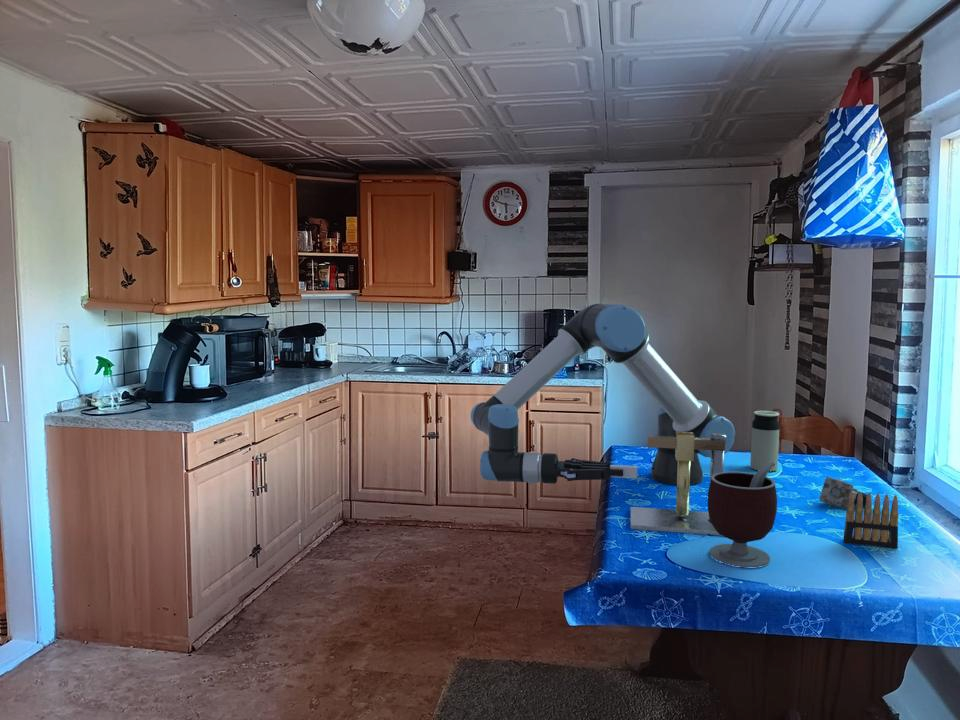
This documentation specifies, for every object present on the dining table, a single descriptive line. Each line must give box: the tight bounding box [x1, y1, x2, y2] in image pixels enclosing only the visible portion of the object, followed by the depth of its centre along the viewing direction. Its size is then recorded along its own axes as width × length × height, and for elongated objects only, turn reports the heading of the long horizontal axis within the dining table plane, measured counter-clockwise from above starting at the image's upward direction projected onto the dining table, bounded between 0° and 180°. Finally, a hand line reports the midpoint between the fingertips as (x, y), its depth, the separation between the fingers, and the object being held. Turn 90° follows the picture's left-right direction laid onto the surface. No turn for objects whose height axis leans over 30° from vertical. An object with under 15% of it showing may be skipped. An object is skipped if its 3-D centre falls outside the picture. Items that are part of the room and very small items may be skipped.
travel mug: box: [749, 410, 780, 472], centre depth 225 cm, size 8×8×18 cm
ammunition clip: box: [842, 491, 899, 550], centre depth 161 cm, size 11×2×12 cm, turn 72°
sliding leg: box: [675, 432, 695, 518], centre depth 175 cm, size 4×6×21 cm
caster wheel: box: [818, 476, 868, 510], centre depth 191 cm, size 7×11×10 cm
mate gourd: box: [707, 462, 778, 567], centre depth 154 cm, size 16×14×20 cm
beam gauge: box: [630, 433, 726, 536], centre depth 174 cm, size 26×14×22 cm, turn 78°
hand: (637, 472), depth 176 cm, fingers closed
